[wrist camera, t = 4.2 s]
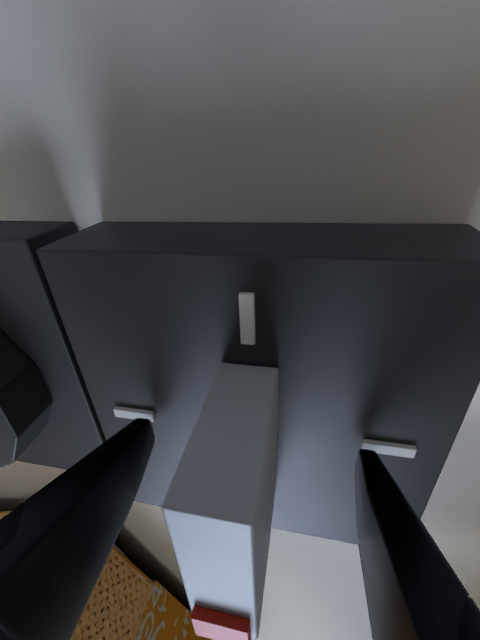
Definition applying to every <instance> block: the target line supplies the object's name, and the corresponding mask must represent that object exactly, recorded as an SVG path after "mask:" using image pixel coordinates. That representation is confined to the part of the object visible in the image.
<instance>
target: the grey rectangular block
mask: <svg viewBox="0 0 480 640" xmlns="http://www.w3.org/2000/svg"><path fill="white" fill-rule="evenodd" d="M278 386H279V370H278V368H272V367H262V366H252V365H241V364H231V363H221V364H220V366H219V368H218V371H217V373H216V375H215V378H214V380H213V383H212V385H211V387H210V390H209V392H208V395H207V397H206V399H205V402H204V404H203V407H202V409H201V411H200V414H199V416H198V419H197V421H196V423H195V426H194V428H193V431H192V433H191V435H190V438H189V440H188V443H187V445H186V447H185V450H184V452H183V455H182V457H181V459H180V462H179V464H178V467H177V469H176V472H175V474H174V476H173V479H172V481H171V484H170V486H169V488H168V491H167V493H166V496H165V498H164V500H163V503H162V511H163V515H164V518H165V522H166V525H167V529H168V532H169V536H170V539H171V543H172V546H173V550H174V553H175V556H176V560H177V563H178V567H179V570H180V574H181V577H182V581H183V584H184V588H185V591H186V595H187V598H188V602H189V605H190V609H191V612H192V614H191V621H192V624H193V627H194V631H195V634H196V635H198V636H202V637H206V638H209V639H213V640H251V638H254V639H256V638H257V637H258V635H259V626H260V618H261V609H262V601H263V592H264V584H265V575H266V567H267V558H268V550H269V541H270V533H271V524H272V515H273V507H274V498H275V490H276V471H277V428H278Z"/></svg>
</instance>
